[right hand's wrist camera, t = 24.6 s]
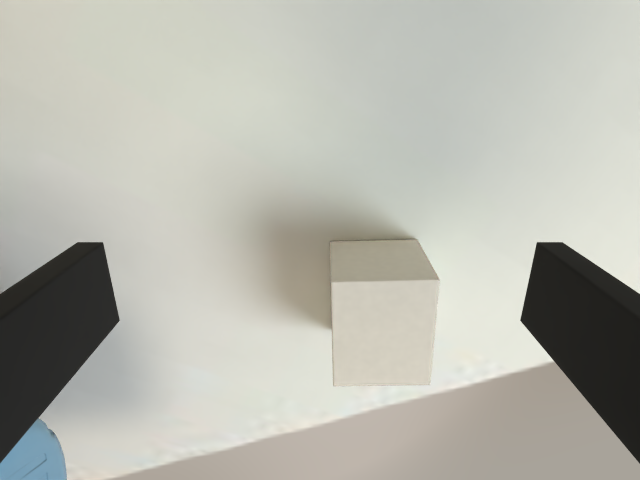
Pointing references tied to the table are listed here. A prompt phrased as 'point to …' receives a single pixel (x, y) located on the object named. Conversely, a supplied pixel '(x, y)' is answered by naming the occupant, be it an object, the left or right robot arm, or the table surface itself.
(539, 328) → the right robot arm
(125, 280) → the table surface
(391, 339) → the block
